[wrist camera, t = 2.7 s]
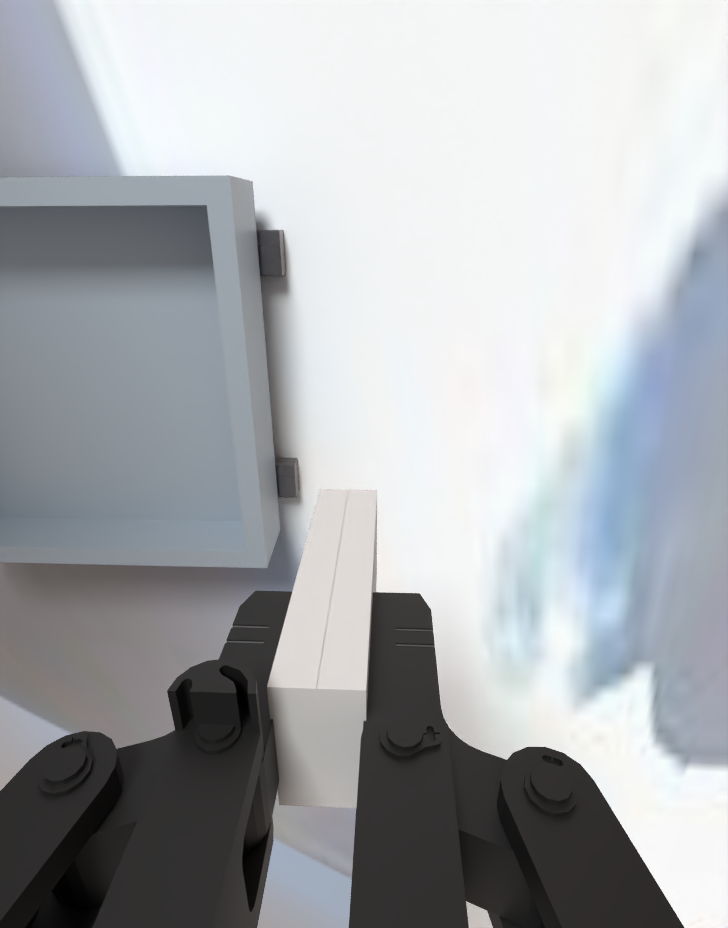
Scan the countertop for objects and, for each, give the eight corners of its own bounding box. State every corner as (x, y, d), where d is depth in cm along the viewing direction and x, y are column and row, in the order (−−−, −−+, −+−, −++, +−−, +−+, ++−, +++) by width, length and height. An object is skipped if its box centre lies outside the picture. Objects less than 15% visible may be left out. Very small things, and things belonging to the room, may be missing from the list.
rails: (-321, 232, 27) (-372, 233, 25) (283, 230, 26) (275, 231, 24) (-198, 481, 33) (-233, 496, 31) (298, 489, 32) (293, 505, 30)
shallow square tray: (-138, 184, 25) (-224, 179, 21) (252, 181, 24) (229, 175, 20) (-19, 523, 32) (-68, 560, 29) (280, 529, 31) (267, 568, 28)
